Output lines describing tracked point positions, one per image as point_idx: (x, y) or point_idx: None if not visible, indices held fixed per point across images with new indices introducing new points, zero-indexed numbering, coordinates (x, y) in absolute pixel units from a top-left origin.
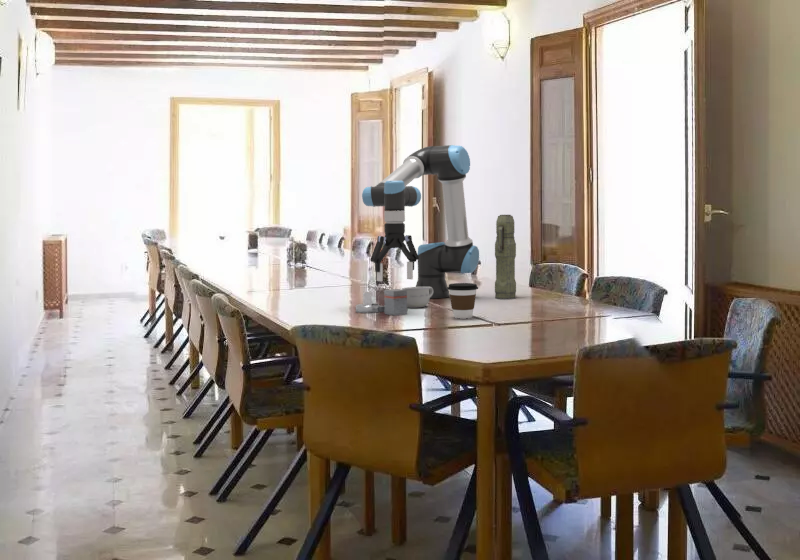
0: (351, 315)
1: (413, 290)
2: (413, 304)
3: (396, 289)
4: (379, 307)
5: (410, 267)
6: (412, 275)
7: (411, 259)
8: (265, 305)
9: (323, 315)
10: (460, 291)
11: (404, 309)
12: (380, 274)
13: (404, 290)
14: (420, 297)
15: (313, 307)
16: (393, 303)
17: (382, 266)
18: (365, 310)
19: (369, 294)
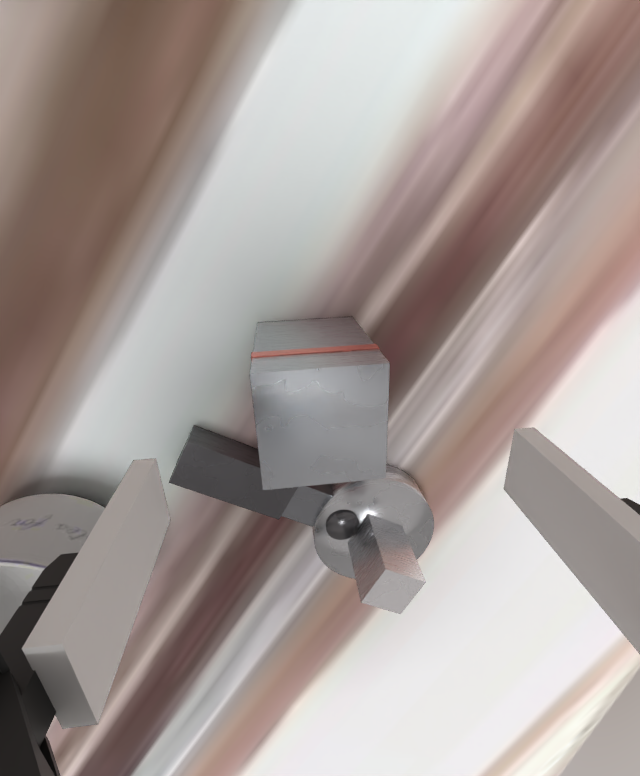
0: (501, 445)
1: None
2: (104, 507)
3: (296, 455)
4: (330, 492)
5: (108, 574)
6: (123, 485)
7: (20, 705)
8: (524, 768)
9: None
10: None
11: (276, 328)
12: (579, 473)
13: (274, 370)
14: (43, 516)
15: (449, 690)
16: (367, 337)
17: (635, 538)
18: (411, 481)
19: (392, 562)
